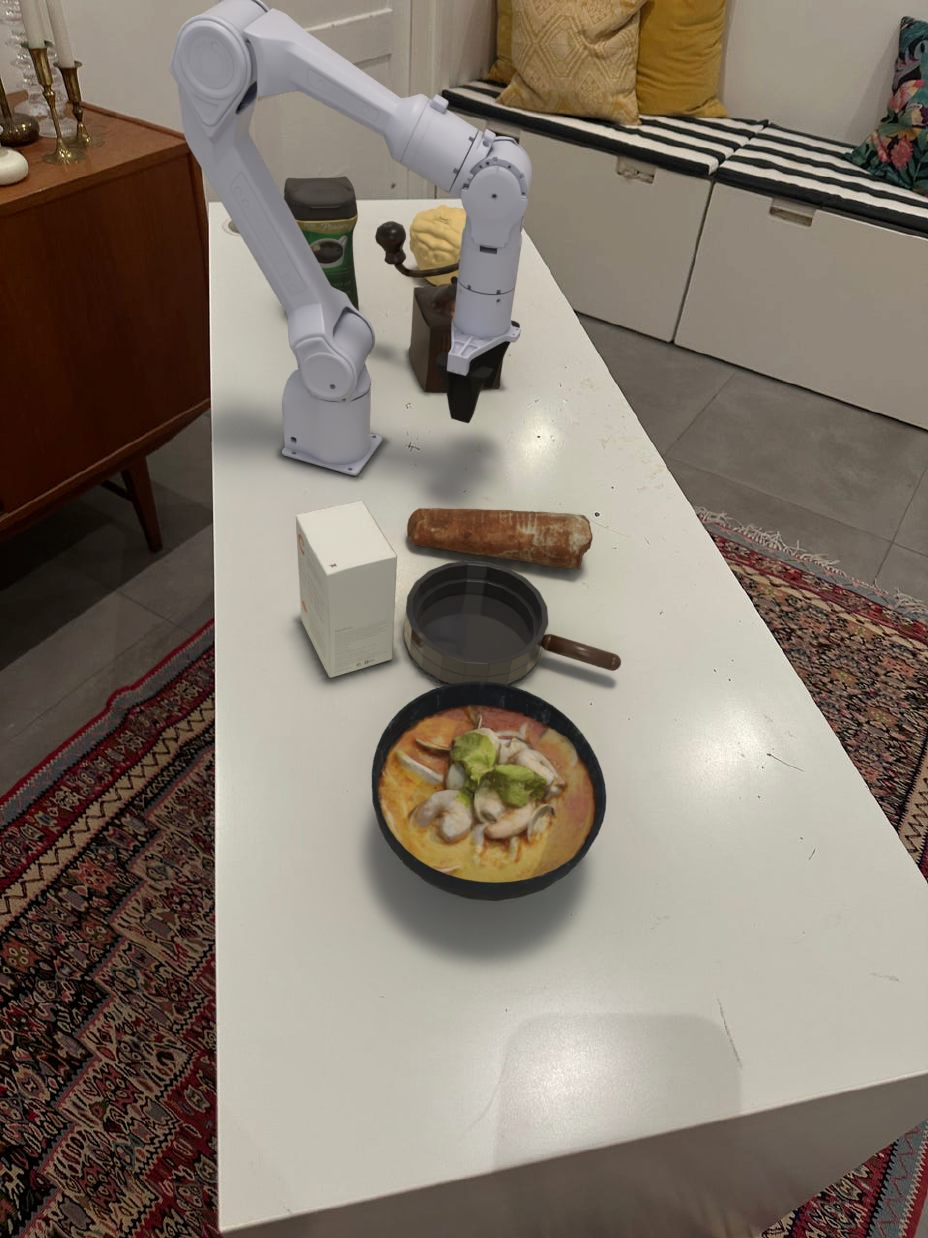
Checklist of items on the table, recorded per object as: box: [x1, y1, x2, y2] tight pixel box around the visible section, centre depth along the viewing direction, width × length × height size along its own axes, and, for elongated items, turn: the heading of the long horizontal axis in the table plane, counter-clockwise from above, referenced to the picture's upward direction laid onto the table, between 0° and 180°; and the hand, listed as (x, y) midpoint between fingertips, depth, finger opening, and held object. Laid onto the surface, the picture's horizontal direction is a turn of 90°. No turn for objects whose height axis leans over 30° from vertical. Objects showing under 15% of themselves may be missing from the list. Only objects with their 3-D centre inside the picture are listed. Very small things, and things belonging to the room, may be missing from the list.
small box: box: [295, 500, 398, 678], centre depth 77 cm, size 8×6×13 cm
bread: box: [406, 507, 593, 570], centre depth 90 cm, size 6×19×6 cm, turn 83°
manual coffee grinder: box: [374, 220, 504, 393], centre depth 110 cm, size 16×11×18 cm
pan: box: [403, 560, 549, 685], centre depth 82 cm, size 13×13×4 cm
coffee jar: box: [283, 175, 360, 312], centre depth 116 cm, size 10×8×19 cm
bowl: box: [371, 681, 607, 902], centre depth 65 cm, size 17×17×10 cm
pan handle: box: [542, 633, 622, 672], centre depth 80 cm, size 8×2×2 cm, turn 71°
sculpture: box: [409, 204, 466, 287], centre depth 131 cm, size 12×12×11 cm
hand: (472, 401), depth 95 cm, fingers open, 7 cm apart
